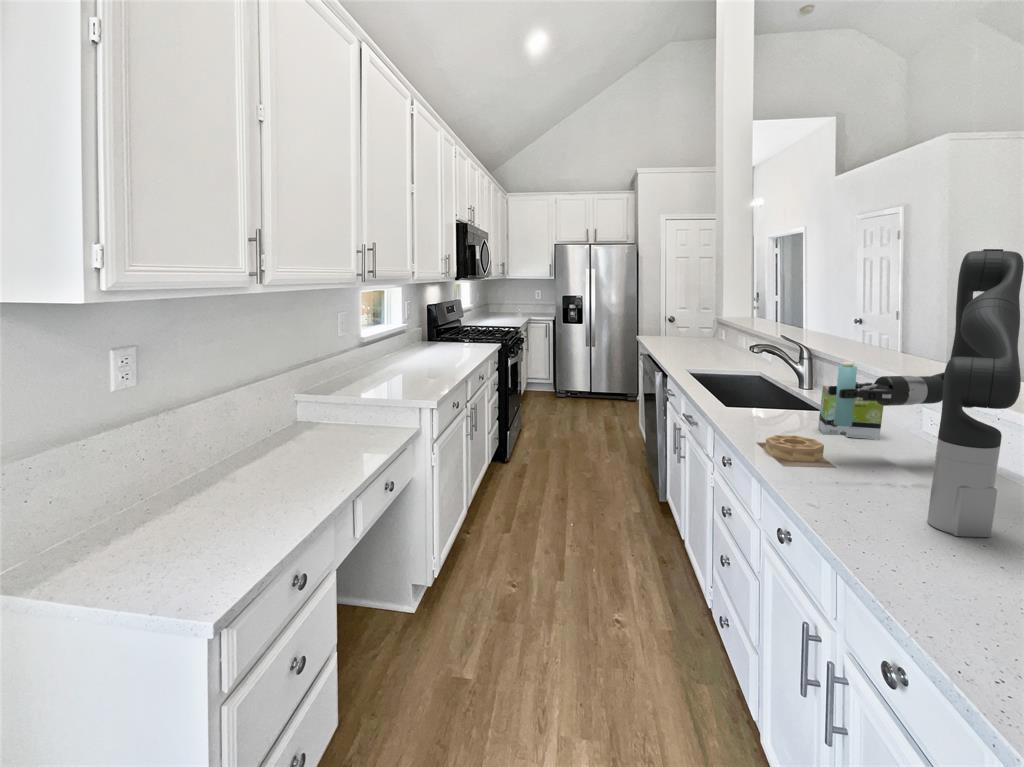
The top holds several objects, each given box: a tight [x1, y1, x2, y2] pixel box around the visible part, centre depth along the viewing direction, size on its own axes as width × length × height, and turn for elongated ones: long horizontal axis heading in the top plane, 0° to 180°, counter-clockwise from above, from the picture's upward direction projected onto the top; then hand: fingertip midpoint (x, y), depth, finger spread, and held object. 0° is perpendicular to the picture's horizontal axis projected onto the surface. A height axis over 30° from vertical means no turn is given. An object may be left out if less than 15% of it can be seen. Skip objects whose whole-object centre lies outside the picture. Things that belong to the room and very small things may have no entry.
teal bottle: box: [834, 361, 858, 427], centre depth 141 cm, size 4×4×16 cm
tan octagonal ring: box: [764, 434, 825, 462], centre depth 152 cm, size 13×13×4 cm
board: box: [755, 441, 838, 469], centre depth 152 cm, size 22×13×1 cm, turn 174°
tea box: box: [818, 385, 884, 440], centre depth 174 cm, size 15×10×15 cm, turn 73°
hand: (834, 392), depth 141 cm, fingers closed on teal bottle, 4 cm apart
